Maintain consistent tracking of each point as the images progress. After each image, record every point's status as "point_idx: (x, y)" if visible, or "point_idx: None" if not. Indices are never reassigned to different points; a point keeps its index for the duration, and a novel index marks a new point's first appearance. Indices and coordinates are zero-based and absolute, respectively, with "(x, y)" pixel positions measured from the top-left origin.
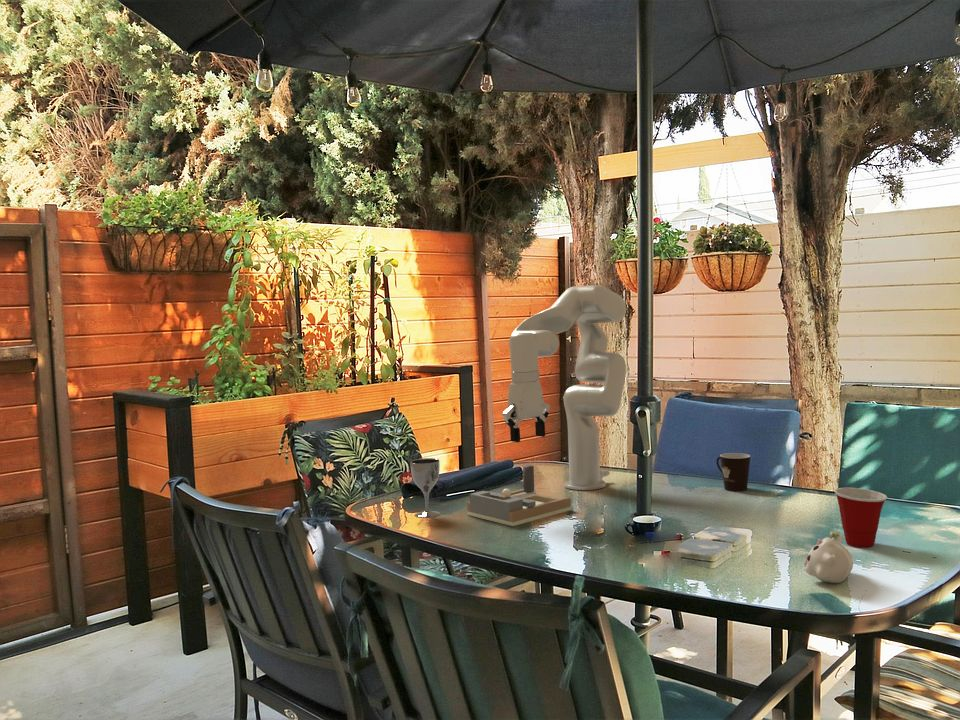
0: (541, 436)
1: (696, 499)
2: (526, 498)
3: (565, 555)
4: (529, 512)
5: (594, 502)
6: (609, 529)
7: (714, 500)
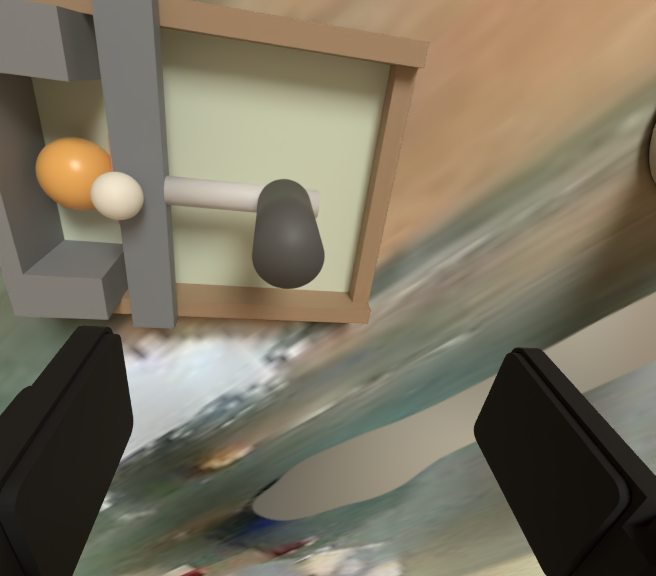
0: (487, 404)
1: None
2: (388, 77)
3: None
4: None
5: (483, 296)
6: (249, 463)
7: None
